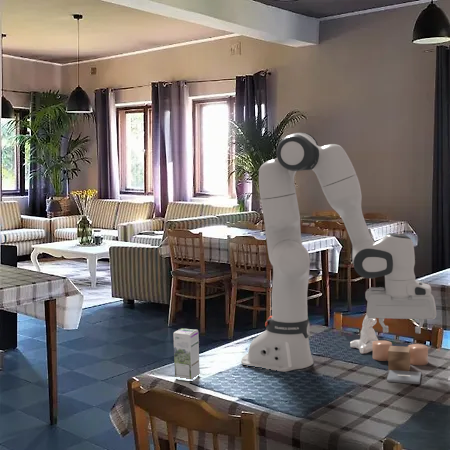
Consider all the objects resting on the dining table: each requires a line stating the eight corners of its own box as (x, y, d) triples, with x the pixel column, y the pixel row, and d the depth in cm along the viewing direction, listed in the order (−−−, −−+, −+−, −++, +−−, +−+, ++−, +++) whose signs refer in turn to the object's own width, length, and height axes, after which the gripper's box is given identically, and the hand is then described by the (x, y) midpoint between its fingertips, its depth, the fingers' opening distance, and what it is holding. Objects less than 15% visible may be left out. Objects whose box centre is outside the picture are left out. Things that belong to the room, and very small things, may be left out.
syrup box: (200, 376, 202) (199, 329, 201) (191, 382, 197) (189, 333, 196) (183, 374, 205) (182, 327, 203) (174, 380, 199) (172, 332, 198)
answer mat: (386, 381, 194) (386, 379, 194) (389, 371, 202) (389, 369, 202) (419, 384, 191) (419, 381, 191) (421, 374, 199) (421, 371, 199)
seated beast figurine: (348, 346, 230) (348, 311, 229) (371, 344, 232) (371, 309, 231) (361, 354, 221) (361, 318, 219) (385, 351, 223) (385, 315, 222)
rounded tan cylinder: (371, 360, 214) (371, 344, 214) (373, 354, 220) (373, 339, 219) (391, 361, 212) (390, 346, 212) (392, 356, 218) (392, 340, 217)
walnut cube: (388, 370, 204) (388, 351, 203) (390, 364, 209) (390, 345, 209) (409, 372, 202) (409, 352, 201) (410, 366, 207) (410, 346, 207)
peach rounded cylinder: (407, 364, 209) (407, 348, 208) (408, 359, 214) (408, 343, 214) (427, 366, 207) (427, 350, 206) (428, 360, 212) (428, 344, 212)
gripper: (363, 289, 203) (365, 334, 205) (435, 289, 197) (436, 336, 198) (366, 285, 209) (368, 328, 211) (435, 285, 203) (437, 330, 204)
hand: (401, 332), depth 204 cm, fingers open, 8 cm apart
